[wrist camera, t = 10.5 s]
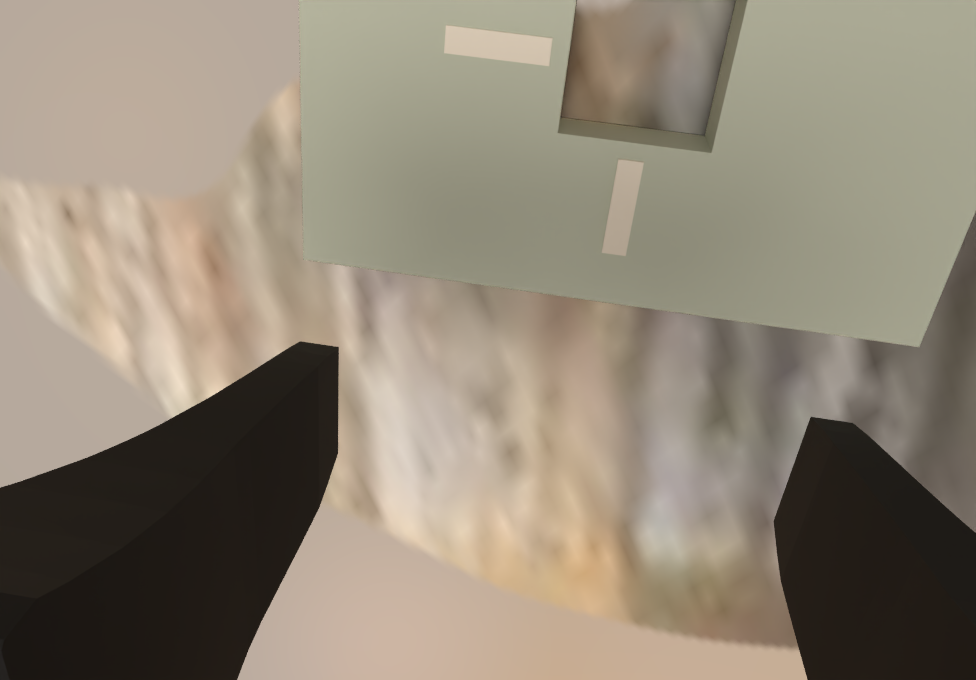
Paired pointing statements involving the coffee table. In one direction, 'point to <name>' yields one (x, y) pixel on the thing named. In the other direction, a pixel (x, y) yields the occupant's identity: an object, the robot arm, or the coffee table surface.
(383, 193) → the plate
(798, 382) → the coffee table surface
